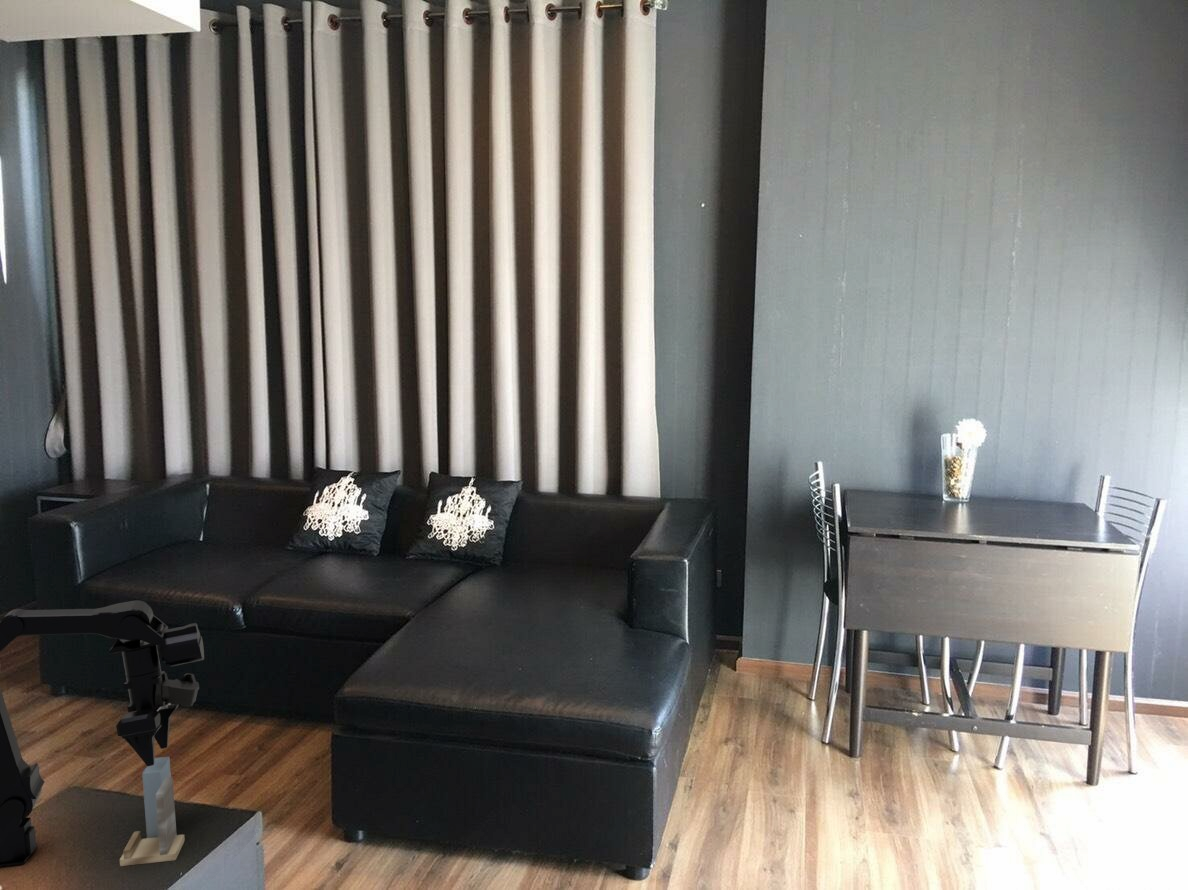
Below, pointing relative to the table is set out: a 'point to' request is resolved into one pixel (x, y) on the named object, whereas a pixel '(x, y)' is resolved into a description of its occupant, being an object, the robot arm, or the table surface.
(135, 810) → the table surface
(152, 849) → the book stand
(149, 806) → the book
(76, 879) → the table surface
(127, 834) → the table surface
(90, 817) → the table surface
